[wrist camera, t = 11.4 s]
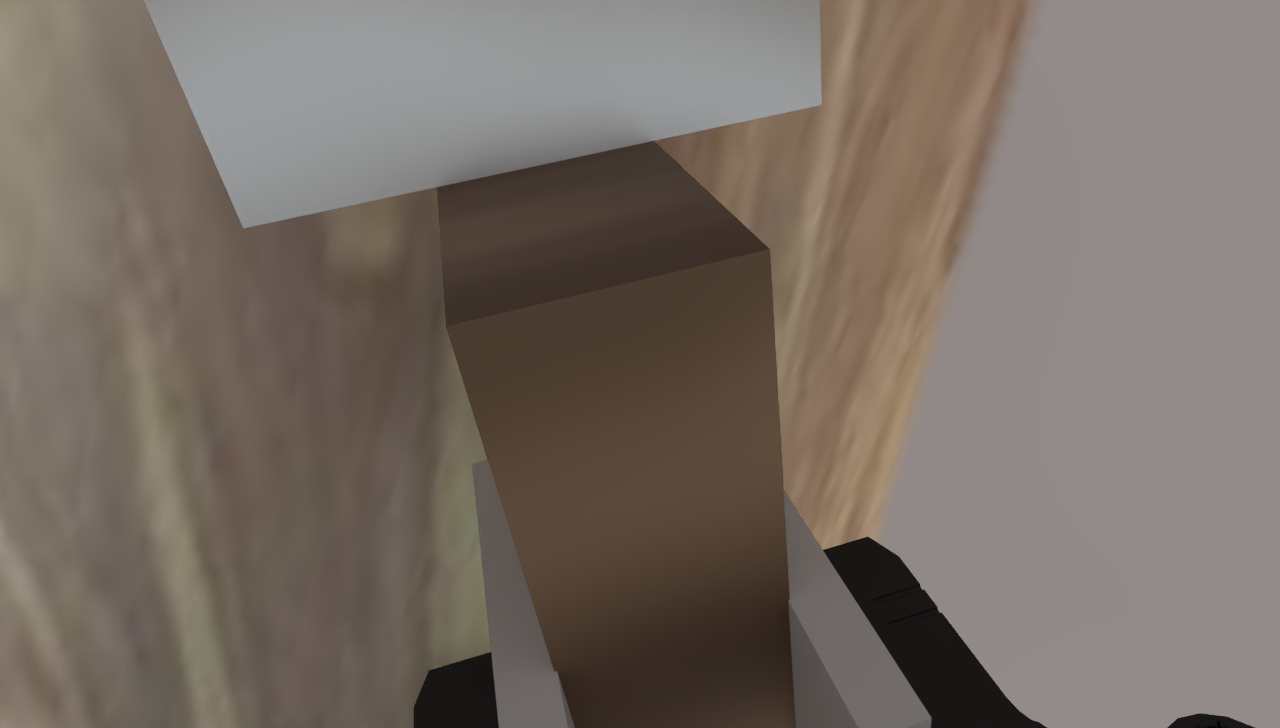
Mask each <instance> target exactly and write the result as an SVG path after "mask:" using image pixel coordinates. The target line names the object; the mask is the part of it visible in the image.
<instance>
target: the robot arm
mask: <svg viewBox="0 0 1280 728" xmlns="http://www.w3.org/2000/svg"><path fill="white" fill-rule="evenodd" d="M472 465H473V475H474V485H475V495H476V505H477V515H478V525H479V535H480V545H481V555H482V565H483V574H484V584H485V594H486V604H487V614H488V624H489V634H490V644H491V652H490V653H486V654H483V655H480V656H476V657H473V658H470V659H466V660H463V661H460V662H456V663H453V664H450V665H446V666H443V667H440V668H436V669H433V670H430V671H429V672H428V674H427V677H426V679H425V682H424V684H423V686H422V689H421V691H420V694H419V696H418V699H417V701H416V703H415V706H414V728H575V727H574V723H573V720H572V717H571V714H570V710H569V707H568V704H567V701H566V698H565V694H564V691H563V688H562V685H561V681H560V678H559V675H558V672H557V671H555V672H554V669H553V666H552V663H551V660H550V656H549V653H548V650H547V647H546V644H545V640H544V637H543V634H542V631H541V628H540V624H539V621H538V618H537V615H536V612H535V608H534V605H533V602H532V599H531V596H530V592H529V589H528V586H527V583H526V580H525V577H524V573H523V570H522V567H521V564H520V561H519V557H518V554H517V551H516V548H515V545H514V541H513V538H512V535H511V532H510V529H509V525H508V522H507V519H506V516H505V513H504V509H503V506H502V503H501V500H500V497H499V493H498V490H497V487H496V484H495V481H494V477H493V474H492V471H491V468H490V465H489V461H488V460H486V461H482V462H479V463H475V464H472ZM784 506H785V524H786V541H787V558H788V576H789V593H790V600H788V603H789V620H790V637H791V653H792V670H793V687H794V703H795V720H796V728H1046V727H1045V726H1043V725H1042V724H1040V723H1039V722H1036V721H1033V720H1031V719H1029V718H1028V717H1026V716H1025V715H1024V714H1022V713H1021V712H1020V711H1019V710H1018V709H1016V707H1015V706H1014V705H1013V704H1012V703H1011V702H1010V701H1009V700H1008V699H1007V698H1006V696H1005V695H1004V694H1003V692H1002V691H1001V690H1000V688H999V687H998V686H997V685H996V683H995V682H994V681H993V679H992V678H991V677H990V675H989V674H988V673H987V671H986V670H985V669H984V668H983V666H982V665H981V664H980V662H979V661H978V660H977V659H976V657H975V656H974V654H973V653H972V652H971V651H970V649H969V648H968V647H967V645H966V644H965V643H964V641H963V640H962V639H961V637H960V636H959V635H958V633H957V632H956V631H955V629H954V628H953V627H952V626H951V624H950V623H949V622H948V620H947V619H946V618H945V616H944V615H943V614H942V613H939V611H938V609H937V606H936V605H935V603H934V602H933V601H932V599H931V598H930V597H929V595H928V594H927V593H926V591H925V590H922V589H921V587H920V584H919V582H918V581H917V580H916V578H915V577H914V576H913V574H912V573H911V572H910V571H909V569H908V568H907V567H906V565H905V564H904V563H903V561H902V560H901V559H900V558H899V557H898V556H897V555H896V554H894V553H892V552H891V551H889V550H888V549H886V548H885V547H883V546H882V545H880V544H879V543H877V542H875V541H874V540H872V539H871V538H869V537H865V538H862V539H859V540H855V541H852V542H849V543H845V544H842V545H839V546H835V547H832V548H829V549H825V550H822V548H821V547H820V545H819V544H818V542H817V540H816V539H815V537H814V536H813V534H812V533H811V531H810V530H809V528H808V527H807V525H806V524H805V522H804V520H803V519H802V517H801V516H800V514H799V513H798V511H797V510H796V508H795V507H794V505H793V503H792V502H791V500H790V499H789V497H788V496H787V494H786V493H785V491H784ZM1168 728H1254V727H1252V726H1249V725H1247V724H1244V723H1242V722H1239V721H1236V720H1234V719H1231V718H1229V717H1225V716H1216V715H1208V714H1195V715H1191V716H1187V717H1182V718H1178V719H1177V720H1176V721H1174V723H1172V724H1171V725H1170V726H1169V727H1168Z"/></svg>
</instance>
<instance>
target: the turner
mask: <svg viewBox="0 0 1280 728" xmlns="http://www.w3.org/2000/svg"><path fill="white" fill-rule="evenodd" d="M144 2H145V5H146V7H147V9H148V12H149V14H150V16H151V18H152V21H153V23H154V25H155V28H156V30H157V32H158V34H159V37H160V39H161V41H162V44H163V46H164V48H165V50H166V53H167V55H168V57H169V60H170V62H171V64H172V66H173V69H174V71H175V73H176V76H177V78H178V80H179V82H180V85H181V87H182V89H183V92H184V94H185V96H186V98H187V101H188V103H189V105H190V108H191V110H192V112H193V114H194V117H195V119H196V121H197V124H198V126H199V128H200V130H201V133H202V135H203V137H204V140H205V142H206V144H207V146H208V149H209V151H210V153H211V156H212V158H213V160H214V162H215V165H216V167H217V169H218V172H219V174H220V176H221V178H222V181H223V183H224V185H225V188H226V190H227V192H228V194H229V197H230V199H231V201H232V204H233V206H234V208H235V210H236V213H237V215H238V217H239V220H240V222H241V224H242V226H243V229H244V228H248V227H253V226H258V225H262V224H267V223H272V222H276V221H281V220H286V219H291V218H295V217H300V216H305V215H309V214H314V213H319V212H323V211H328V210H333V209H337V208H342V207H347V206H351V205H356V204H361V203H365V202H370V201H375V200H379V199H384V198H389V197H393V196H398V195H403V194H407V193H412V192H417V191H422V190H426V189H431V188H436V187H437V192H438V207H439V223H440V238H441V254H442V269H443V284H444V300H445V315H446V327H447V330H448V334H449V337H450V340H451V343H452V346H453V350H454V353H455V356H456V359H457V362H458V366H459V369H460V372H461V375H462V378H463V382H464V385H465V388H466V391H467V394H468V398H469V401H470V404H471V407H472V410H473V414H474V417H475V420H476V423H477V426H478V430H479V433H480V436H481V439H482V442H483V446H484V449H485V452H486V455H487V458H488V461H489V465H490V468H491V471H492V474H493V477H494V481H495V484H496V487H497V490H498V493H499V497H500V500H501V503H502V506H503V509H504V513H505V516H506V519H507V522H508V525H509V529H510V532H511V535H512V538H513V541H514V545H515V548H516V551H517V554H518V557H519V561H520V564H521V567H522V570H523V573H524V577H525V580H526V583H527V586H528V589H529V592H530V596H531V599H532V602H533V605H534V608H535V612H536V615H537V618H538V621H539V624H540V628H541V631H542V634H543V637H544V640H545V644H546V647H547V650H548V653H549V656H550V660H551V663H552V666H553V669H554V672H555V671H557V672H558V675H559V678H560V681H561V685H562V688H563V691H564V694H565V698H566V701H567V704H568V707H569V710H570V714H571V717H572V720H573V723H574V727H575V728H796V720H795V703H794V687H793V670H792V653H791V637H790V620H789V603H788V600H790V593H789V576H788V558H787V541H786V524H785V506H784V489H783V472H782V454H781V437H780V420H779V402H778V385H777V368H776V350H775V333H774V316H773V298H772V281H771V264H770V249H769V248H768V247H767V246H766V245H765V244H764V243H762V242H761V241H760V240H759V239H758V238H757V237H756V236H755V235H754V234H753V233H752V232H751V231H750V230H749V229H747V228H746V227H745V226H744V225H743V224H742V223H741V222H740V221H739V220H738V219H737V218H736V217H735V216H733V215H732V214H731V213H730V212H729V211H728V210H727V209H726V208H725V207H724V206H723V205H722V204H721V203H720V202H718V201H717V200H716V199H715V198H714V197H713V196H712V195H711V194H710V193H709V192H708V191H707V190H706V189H705V188H703V187H702V186H701V185H700V184H699V183H698V182H697V181H696V180H695V179H694V178H693V177H692V176H691V175H690V174H688V173H687V172H686V171H685V170H684V169H683V168H682V167H681V166H680V165H679V164H678V163H677V162H676V161H675V160H673V159H672V158H671V157H670V156H669V155H668V154H667V153H666V152H665V151H664V150H663V149H662V148H661V147H660V146H658V145H657V144H656V143H655V142H654V141H655V140H660V139H665V138H670V137H674V136H679V135H684V134H688V133H693V132H698V131H702V130H707V129H712V128H716V127H721V126H726V125H730V124H735V123H740V122H744V121H749V120H754V119H758V118H763V117H768V116H772V115H777V114H782V113H786V112H791V111H796V110H801V109H805V108H810V107H815V106H819V105H822V94H821V37H820V0H144Z"/></svg>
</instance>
